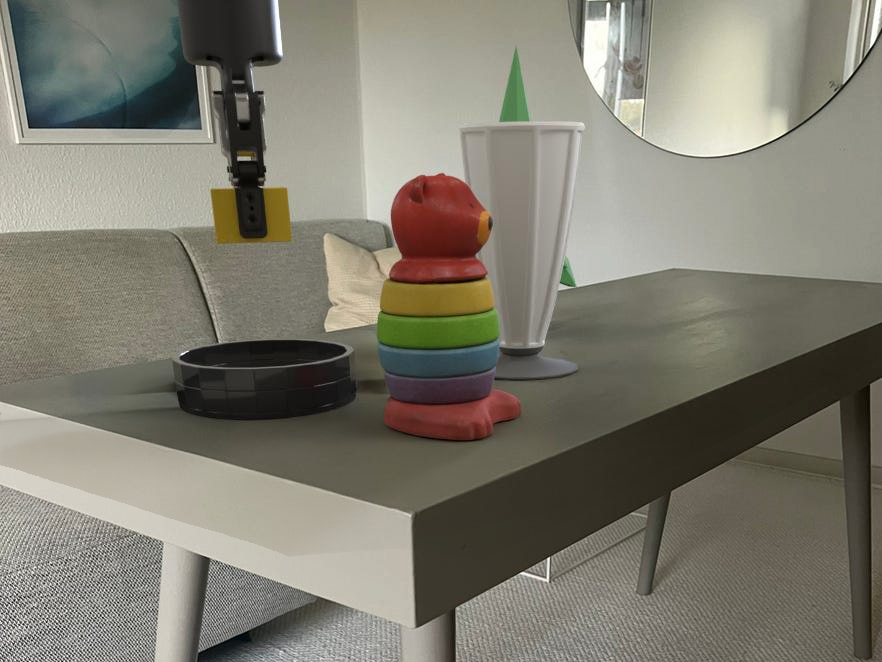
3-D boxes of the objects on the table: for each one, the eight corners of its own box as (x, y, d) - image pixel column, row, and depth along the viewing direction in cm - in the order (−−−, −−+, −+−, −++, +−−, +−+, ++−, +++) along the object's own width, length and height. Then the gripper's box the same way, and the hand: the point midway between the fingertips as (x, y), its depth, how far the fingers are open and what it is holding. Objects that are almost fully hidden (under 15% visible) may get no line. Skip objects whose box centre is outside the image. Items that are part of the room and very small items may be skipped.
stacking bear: (480, 443, 72) (476, 172, 64) (356, 433, 75) (339, 174, 67) (528, 412, 81) (530, 171, 73) (415, 403, 84) (406, 173, 76)
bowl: (177, 424, 78) (169, 373, 76) (181, 388, 92) (175, 343, 90) (367, 412, 81) (364, 362, 80) (344, 378, 95) (341, 335, 93)
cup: (592, 377, 94) (602, 120, 84) (473, 383, 92) (470, 121, 83) (561, 356, 104) (567, 125, 95) (454, 361, 102) (448, 126, 93)
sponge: (217, 243, 80) (210, 189, 78) (216, 240, 83) (210, 188, 82) (292, 241, 81) (287, 187, 79) (288, 238, 85) (283, 187, 83)
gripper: (177, 4, 80) (205, 233, 87) (173, -27, 67) (206, 243, 75) (271, 6, 82) (291, 230, 89) (284, -24, 69) (306, 240, 77)
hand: (252, 235), depth 82 cm, fingers closed on sponge, 4 cm apart
